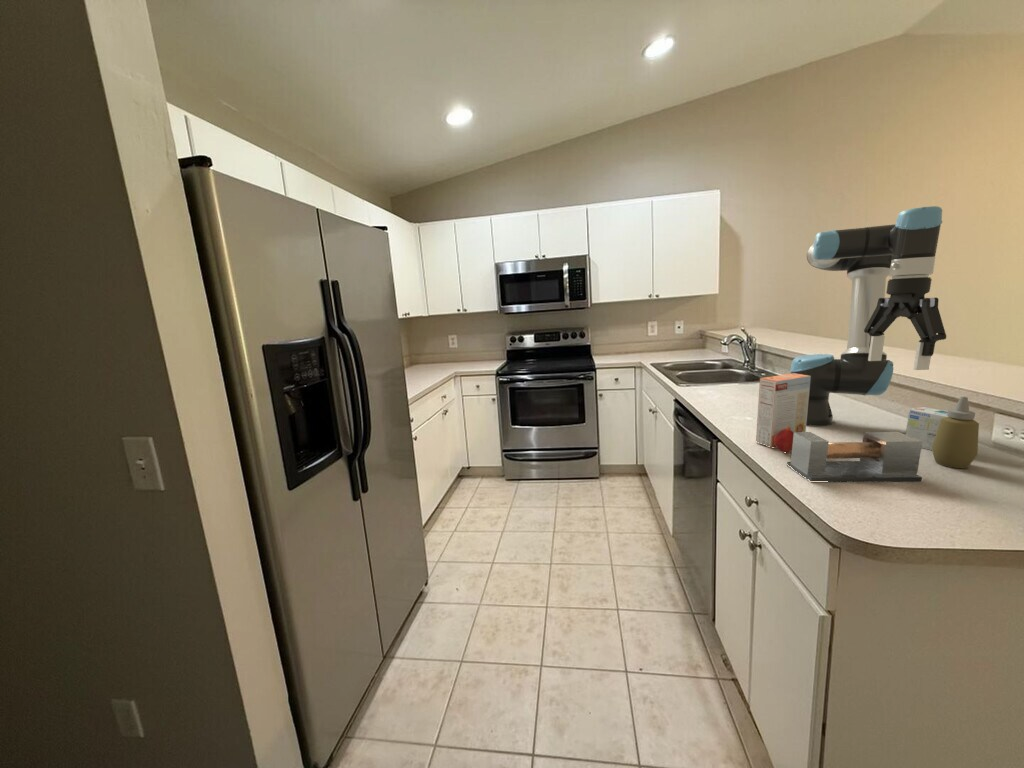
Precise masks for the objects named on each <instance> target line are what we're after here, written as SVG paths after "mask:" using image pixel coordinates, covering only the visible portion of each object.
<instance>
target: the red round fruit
mask: <svg viewBox="0 0 1024 768" xmlns="http://www.w3.org/2000/svg"><path fill="white" fill-rule="evenodd" d="M793 436H794V432H793V431H791V428H790V427H786V428H785V429H783V430H781V431H779V432H778V433H777V434H776V436H775V438H774V443H775V445H776V448H777V449H778V450H780V452H782V453H784V452H786V453H785V454H789V453H791V452H792V445H793Z"/></svg>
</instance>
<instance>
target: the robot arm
mask: <svg viewBox="0 0 1024 768" xmlns="http://www.w3.org/2000/svg"><path fill="white" fill-rule="evenodd" d="M942 217H943V209H942V207H940V206H938V205H937V206H920V207H915V208H914V207H913V208H910V209H905V210H902V211H901V212H899V213H898V214H897V218H896V222H895V223H894V224H885V225H884V224H883V225H876V226H875V225H874V226H867V227H866V226H865V227H858V228H857V227H856V228H847V229H839V230H838V229H836V230H835V229H831V230H827V231H821V232H820V231H819V232H817V234H816V235H815V238H814V241H813V244H812V245H810V247H809V248H808V250H807V253H806V259H807V262H808V263H809V265H810V266H812V267H814V268H815V269H818V270H822V271H829V272H839V271H840V272H841V271H846V277H847V278H848V279H850V280H851V293H850V294H851V295H850V306H849V317H848V318H849V320H848V332H847V334H848V335H847V343H846V348H847V349H846V350H845V351H843V352H842V353H841V354H840V358H835V357H834V355H833V354H827V353H825V354H822V353H819V354H816V353H815V354H807V355H801V356H797V357H795V358H794V359H792V360H791V361H792V362H791V367H790V370H789V372H790V374H792V373H796V374H802V375H808V376H811V379H810V390H809V401H808V412H807V423H806V426H814V427H817V426H818V427H820V426H822V427H823V426H829V425H832V424H833V420H834V419H833V418H834V417H833V412H832V407H831V405H830V402H829V401H830V400H829V398H830V394H846V395H858V396H859V395H860V396H864V397H865V396H880V395H883V394H884V393H885V392H886V391H887V390H888V388H889V386H890V384H891V381H892V378H893V374H894V362H893V361H892V360H889V359H887V358H888V357H887V356H888V354H887V353H886V352H885V351H883V349H884V345H885V337H886V336H885V332H886V330H887V329H888V328H889V327H890V326H891V325H892V324H893V323H894V322H895V321H896V320H897V319H898V318H900V317H902V318H906V319H907V320H910V322H911V324H912V327H914V329H915V331H916V333H917V334H918V336H919V338H920V339H919V341H917V344H916V352H915V356H914V364H913V371H914V370H915V371H926V370H927V371H929V370H930V364H931V359H932V356H933V355H934V352H935V345H936V342H939V341H942V340H943V341H944V340H946V339H947V334H946V333H947V332H946V330H945V328H944V327H945V326H944V323H943V320H942V317H941V313H940V310H939V298H938V297H925V295H926V294H928V293H930V291H931V287H932V286H931V284H932V281H933V280H932V277H929V276H930V275H933V274H934V268H935V262H936V261H935V260H936V253H937V248H938V243H939V242H938V241H939V237H940V231H941V225H942V224H943V220H942V219H943V218H942ZM887 277H891V278H890V279H888V280H887ZM886 284H887V286H886ZM886 294H887V295H888V296H889V295H890V296H889V297H885V296H886Z"/></svg>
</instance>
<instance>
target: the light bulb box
mask: <svg viewBox="0 0 1024 768" xmlns="http://www.w3.org/2000/svg"><path fill="white" fill-rule="evenodd" d="M947 412H948V410H944V409H937V408H932V407H928V406H921V407H913V408H909V410H908V417H907V420H906V421H907V422H906V428H905V435H907V436H910V437H913V438H915V439H918V440H921V441H923V442H922V447H921V449H926V450H929V451H932V448H931V447H932V444H933V441H934V438H935V435H936V432H937V430H938V427H939V424H940V421H941V419H942V418H944V417H948V416H947Z"/></svg>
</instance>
